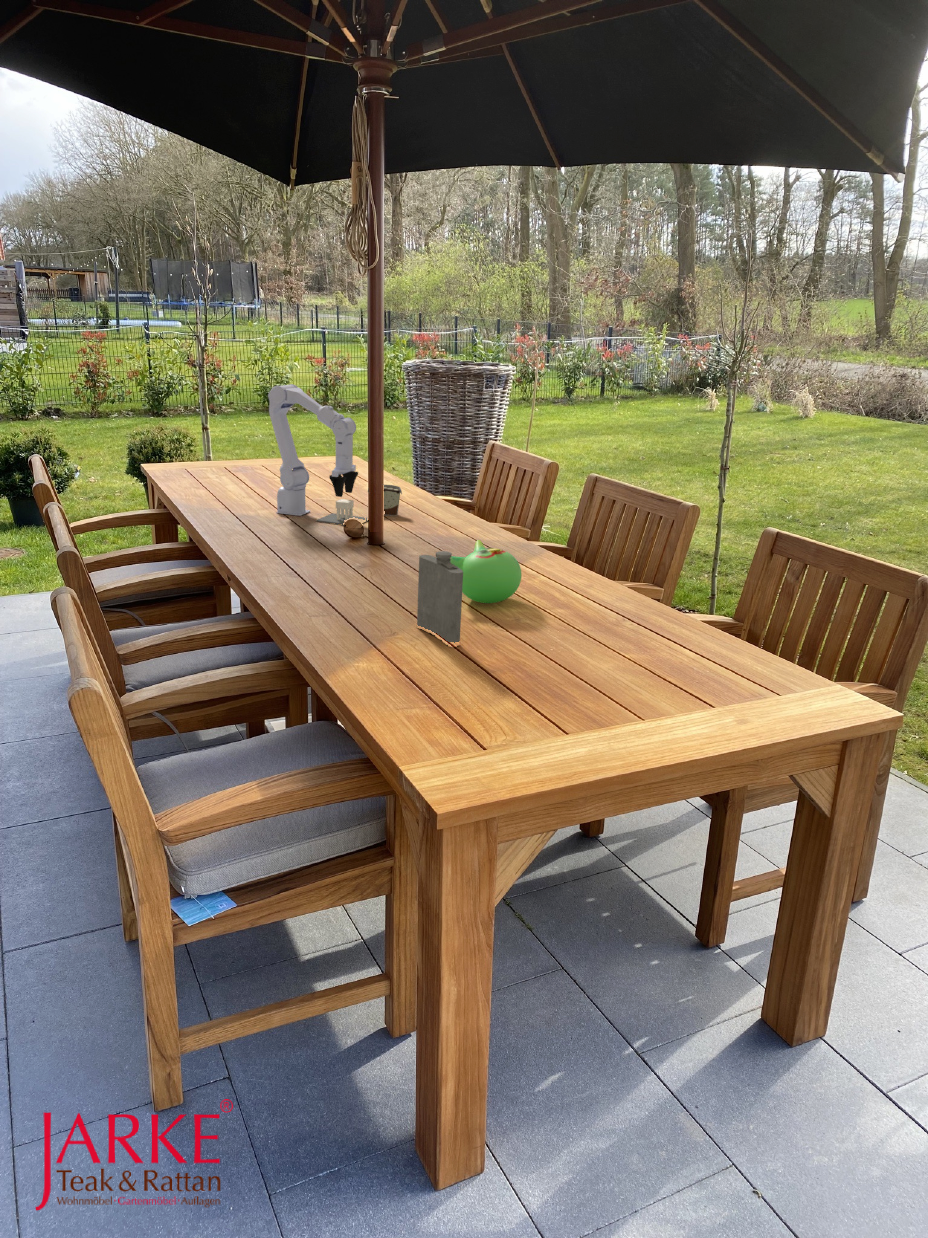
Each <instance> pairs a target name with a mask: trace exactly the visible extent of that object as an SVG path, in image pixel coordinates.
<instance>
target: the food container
mask: <svg viewBox="0 0 928 1238" xmlns="http://www.w3.org/2000/svg"><path fill="white" fill-rule="evenodd" d="M383 485H384V511H385V515H384V516H391V517H398V515H399V514H398V513H399V506H400V498H401V495H403V492H402V488H401V487H400V486H399V485H394V484H393V485H392V484H383ZM367 493H370V492H369V487H368V488H367Z"/></svg>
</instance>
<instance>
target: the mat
mask: <svg viewBox="0 0 928 1238" xmlns="http://www.w3.org/2000/svg"><path fill="white" fill-rule="evenodd" d="M353 517H355V518H358V519H363V520H365V518H364V517H365V516H359V515H358V516H356V515H353ZM367 518H368V517H366V521H367ZM344 520H345V514H344V518H341V513H340V520H337V513H334V512H332V513H330V514H327V515H326V516H325V515H324V516H323V517H321V518H318V519H316V521H315V522H316V523H322V522H325V523H324V524H330V523H335V524H334V525H338V524H342V525H341V526H344V525H343V523H344ZM367 522H368V521H367Z"/></svg>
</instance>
